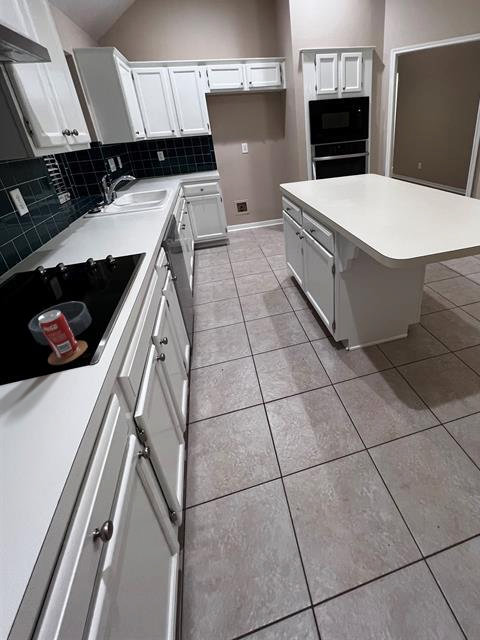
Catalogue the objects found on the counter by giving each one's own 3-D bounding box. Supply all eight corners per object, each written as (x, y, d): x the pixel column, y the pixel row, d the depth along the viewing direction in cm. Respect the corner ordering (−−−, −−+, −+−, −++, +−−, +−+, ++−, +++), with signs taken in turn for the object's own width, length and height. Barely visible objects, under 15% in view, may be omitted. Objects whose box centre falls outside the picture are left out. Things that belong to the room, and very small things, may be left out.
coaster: (41, 368, 79) (40, 367, 79) (59, 344, 87) (59, 343, 87) (78, 362, 80) (77, 361, 80) (93, 339, 88) (92, 338, 88)
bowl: (30, 353, 85) (21, 337, 83) (44, 324, 97) (36, 309, 95) (88, 336, 89) (81, 321, 87) (95, 311, 101) (88, 296, 99)
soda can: (60, 348, 85) (41, 312, 80) (81, 343, 86) (64, 307, 81) (53, 361, 81) (33, 323, 75) (76, 355, 82) (57, 318, 77)
